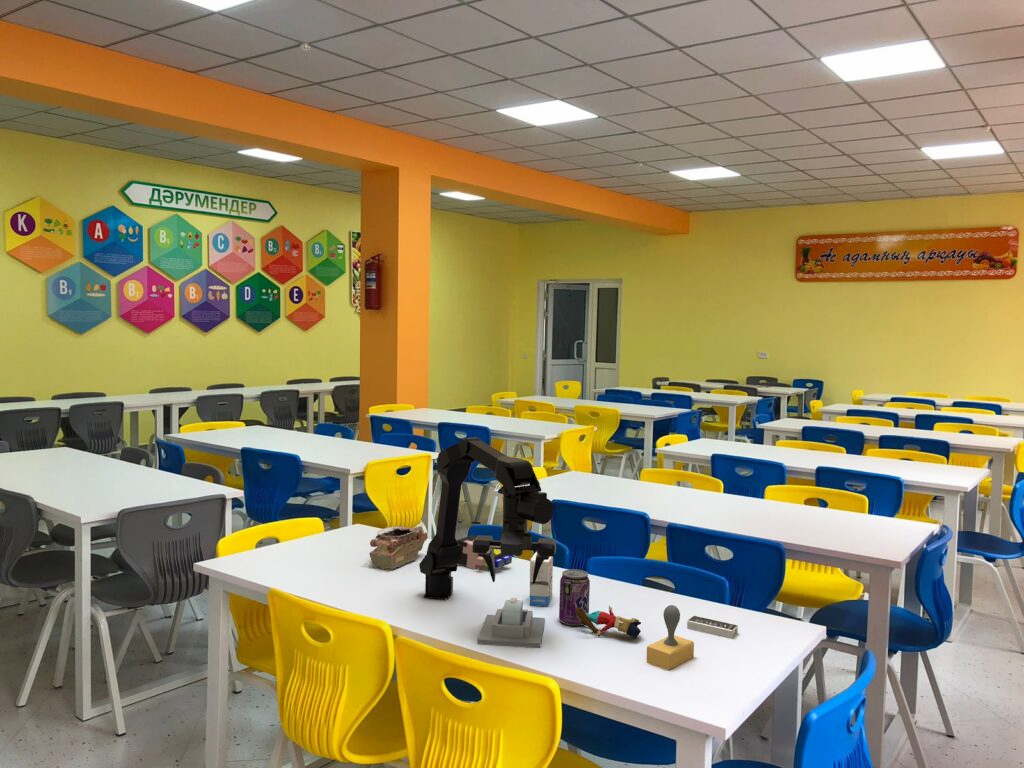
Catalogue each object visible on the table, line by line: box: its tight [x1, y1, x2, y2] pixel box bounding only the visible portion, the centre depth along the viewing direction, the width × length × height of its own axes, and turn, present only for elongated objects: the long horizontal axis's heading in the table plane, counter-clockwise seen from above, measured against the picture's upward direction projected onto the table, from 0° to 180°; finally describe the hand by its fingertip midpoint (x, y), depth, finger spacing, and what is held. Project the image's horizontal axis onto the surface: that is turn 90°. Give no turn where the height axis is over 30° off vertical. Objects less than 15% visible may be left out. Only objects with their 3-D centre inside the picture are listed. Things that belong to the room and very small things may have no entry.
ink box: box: [529, 551, 554, 607], centre depth 208 cm, size 9×5×12 cm, turn 168°
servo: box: [501, 597, 524, 626], centre depth 186 cm, size 4×8×6 cm, turn 174°
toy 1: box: [456, 534, 513, 570], centre depth 237 cm, size 12×7×15 cm
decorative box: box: [369, 526, 429, 570], centre depth 241 cm, size 13×20×10 cm, turn 146°
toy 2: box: [575, 605, 642, 639], centre depth 185 cm, size 9×6×15 cm
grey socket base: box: [476, 608, 546, 649], centre depth 186 cm, size 14×16×4 cm
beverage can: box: [558, 568, 591, 627], centre depth 193 cm, size 7×7×12 cm
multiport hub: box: [686, 615, 739, 640], centre depth 190 cm, size 4×11×2 cm, turn 57°
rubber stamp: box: [645, 604, 695, 671], centre depth 172 cm, size 10×6×12 cm, turn 136°
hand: (513, 582), depth 185 cm, fingers open, 9 cm apart
